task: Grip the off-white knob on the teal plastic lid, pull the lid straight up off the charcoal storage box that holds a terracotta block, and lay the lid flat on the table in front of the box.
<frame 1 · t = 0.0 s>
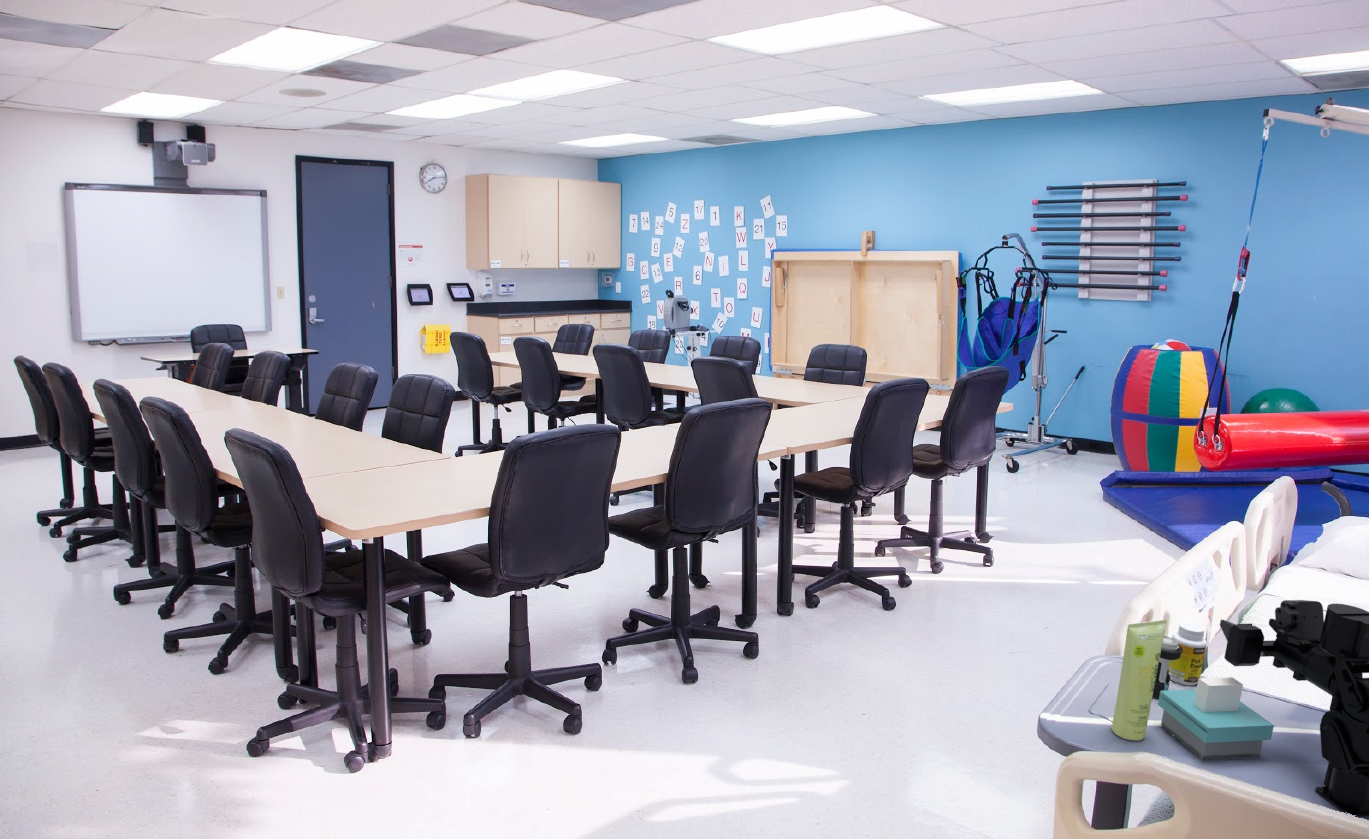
hand: (1245, 621, 163), 17 cm above the table, tool horizontal, fingers open, 9 cm apart
supplement bottle: (1181, 679, 178), on the table
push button: (1156, 692, 173), on the table
storage box: (1208, 741, 157), on the table
tube: (1126, 734, 158), on the table
lid: (1212, 721, 156), point 3 cm above the table, touching storage box
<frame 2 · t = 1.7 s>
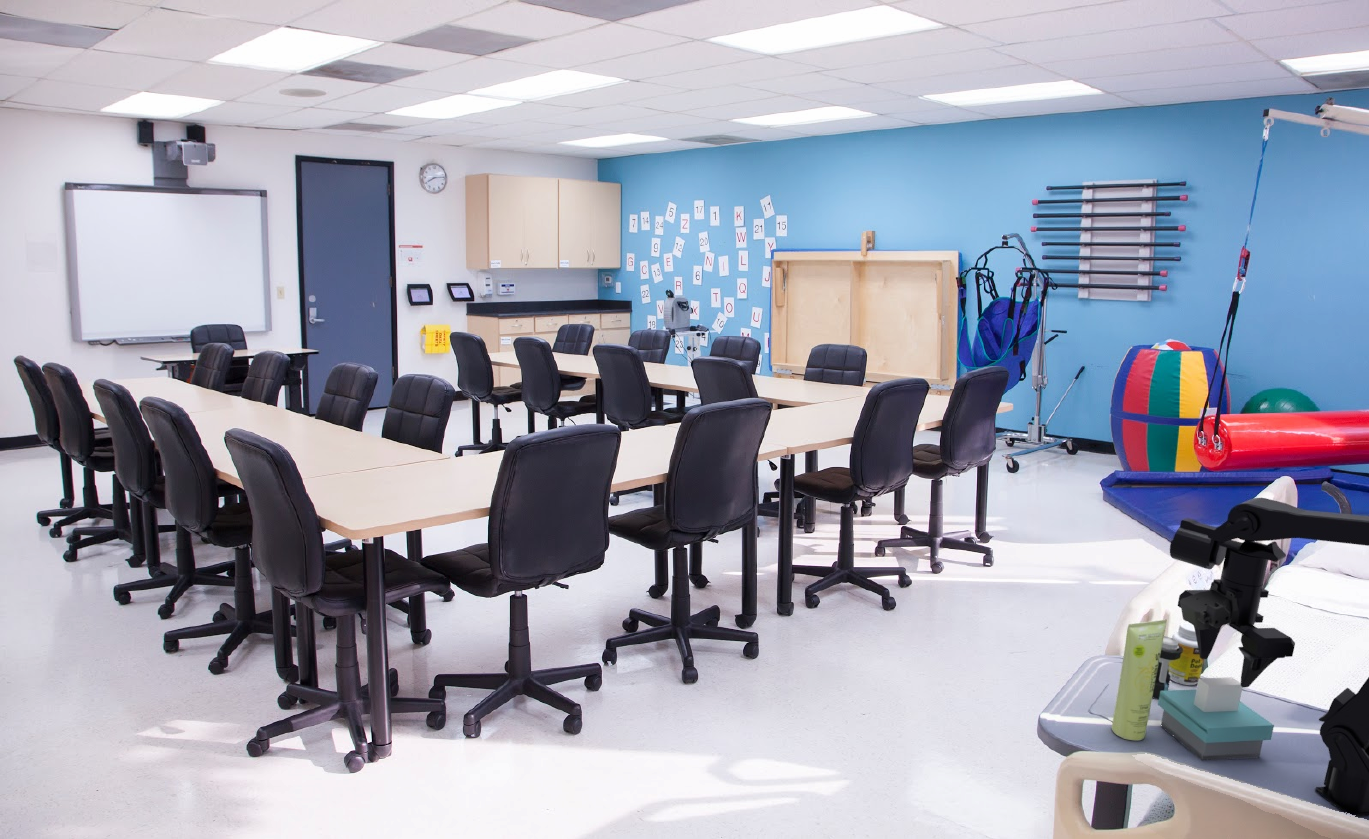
hand: (1223, 672, 154), 12 cm above the table, tool pointing down, fingers open, 9 cm apart
nothing on the table moved.
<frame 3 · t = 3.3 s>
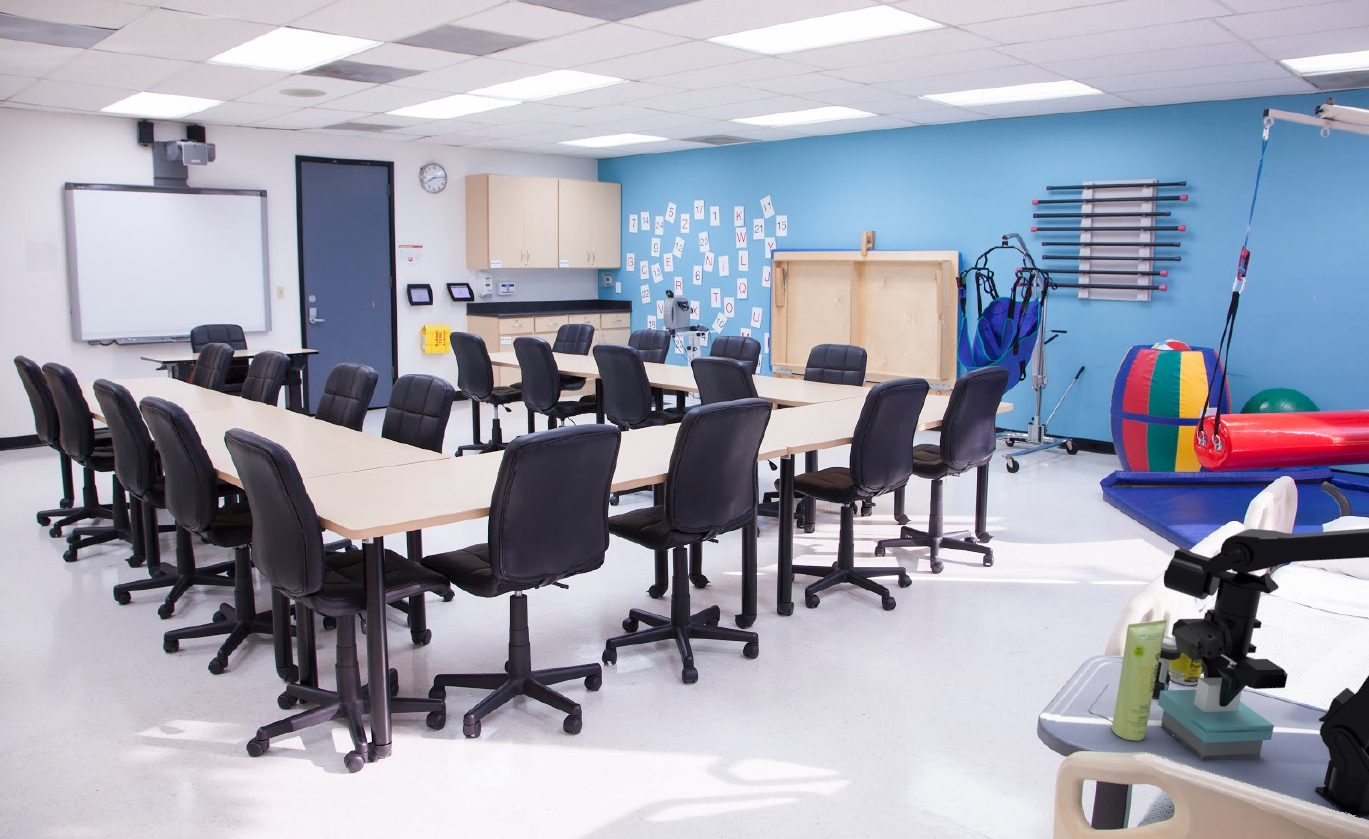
hand: (1216, 701, 155), 7 cm above the table, tool pointing down, fingers closed on lid, 2 cm apart
lid: (1212, 721, 156), point 3 cm above the table, touching gripper, storage box
everything else where it was.
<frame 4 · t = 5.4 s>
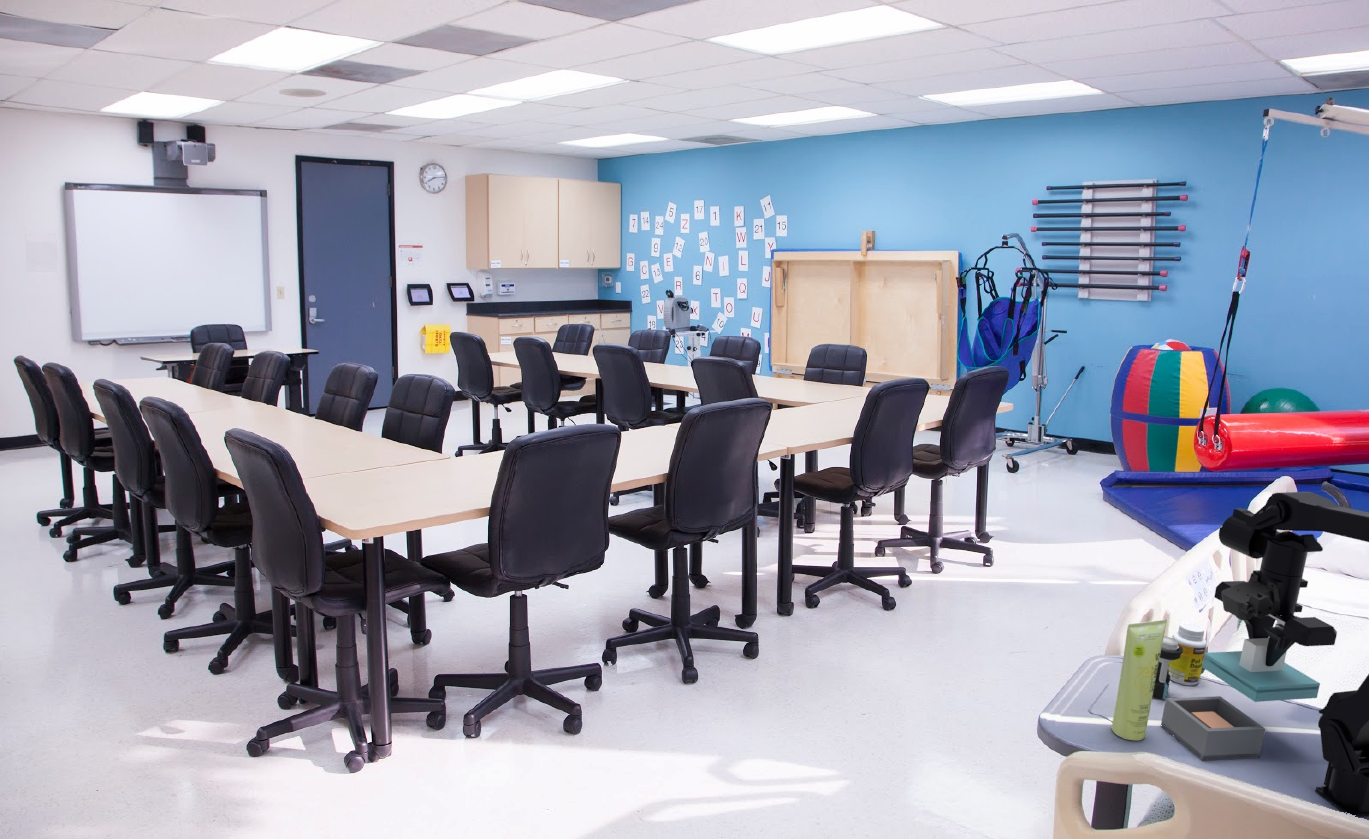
hand: (1262, 661, 157), 13 cm above the table, tool pointing down, fingers closed on lid, 2 cm apart
lid: (1257, 681, 157), point 9 cm above the table, touching gripper
everything else where it was.
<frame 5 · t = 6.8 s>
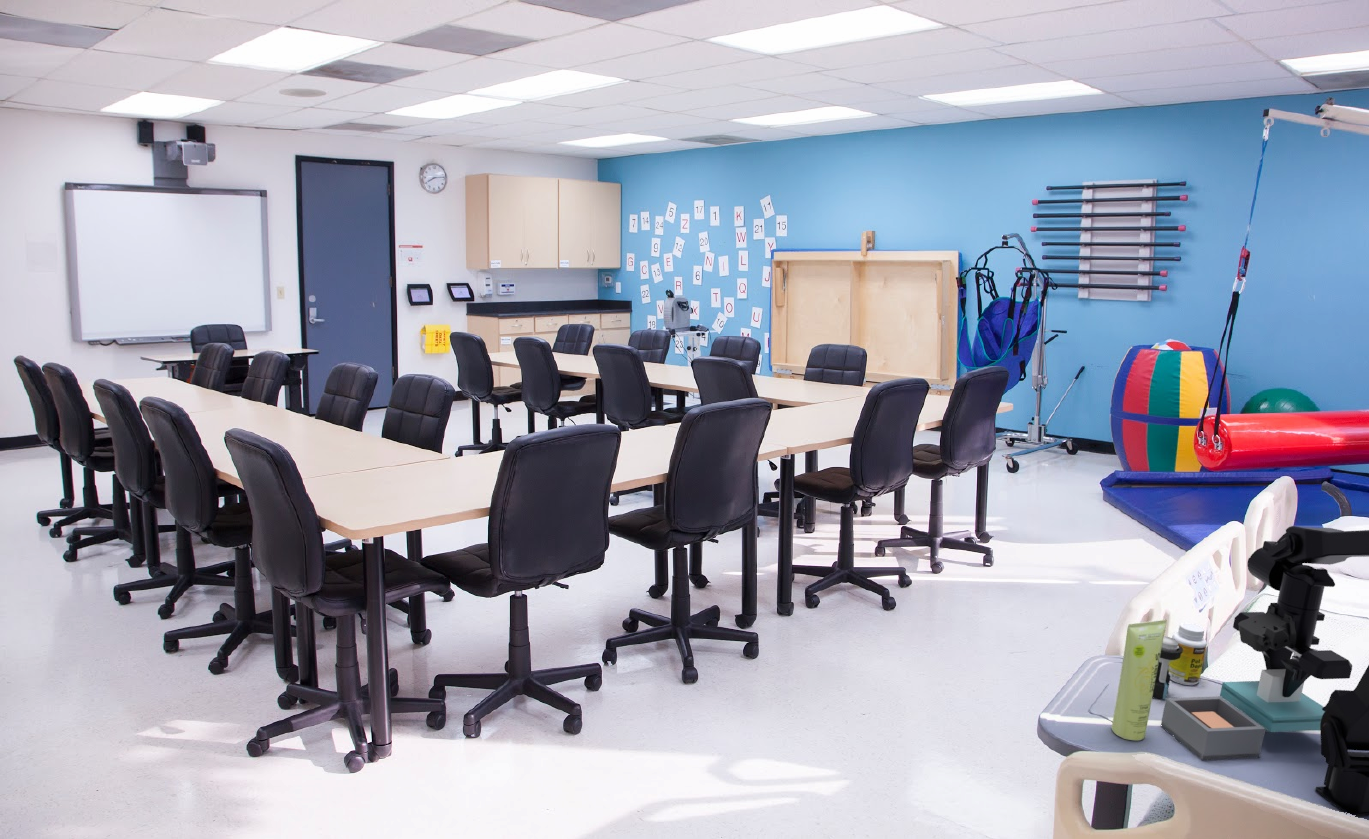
hand: (1279, 692, 159), 7 cm above the table, tool pointing down, fingers closed on lid, 2 cm apart
lid: (1275, 712, 160), point 4 cm above the table, touching gripper
everything else where it was.
when the fingers open (5 cm above the table, at t = 7.8 s): lid drops 1 cm, on the table.
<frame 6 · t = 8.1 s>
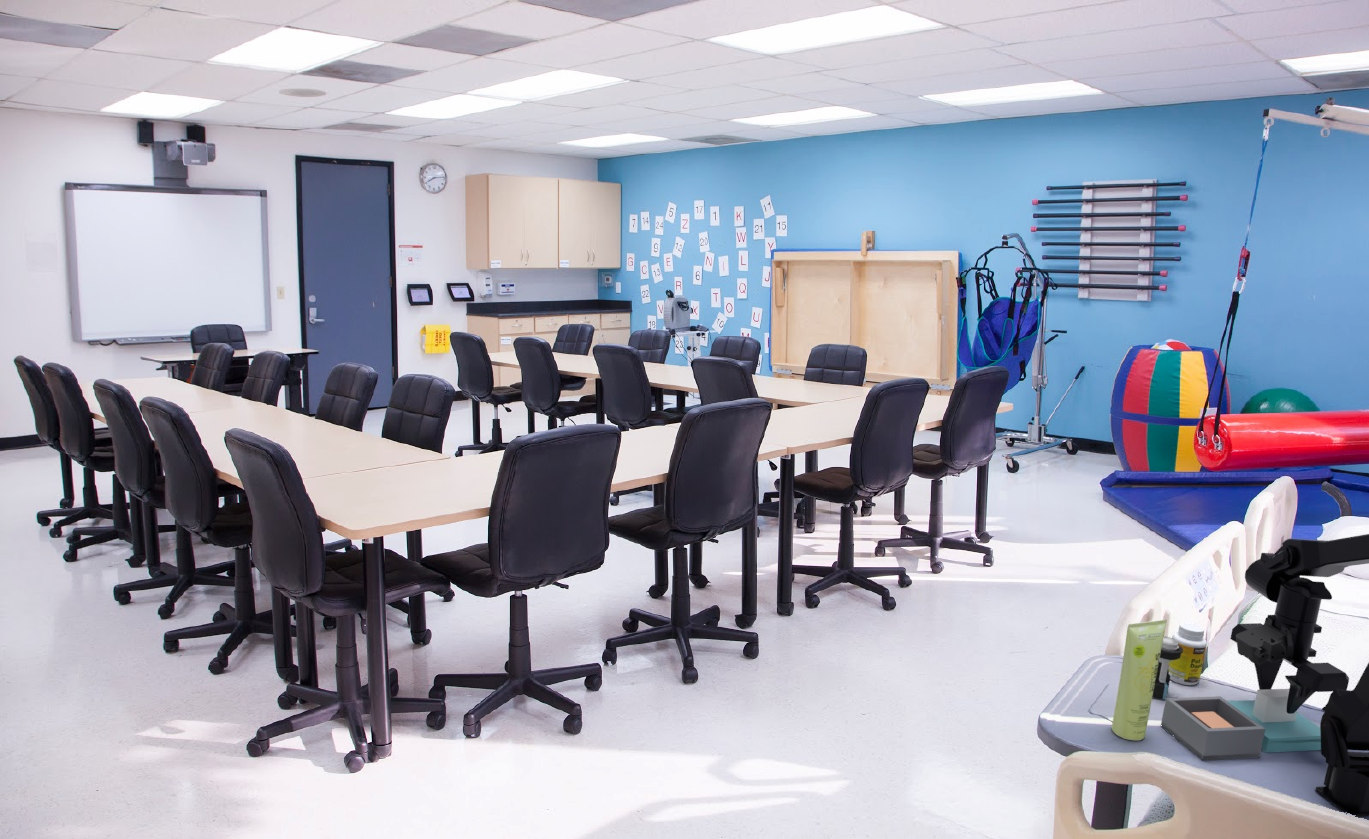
hand: (1276, 704, 160), 5 cm above the table, tool pointing down, fingers open, 5 cm apart
lid: (1270, 731, 161), on the table
everything else where it was.
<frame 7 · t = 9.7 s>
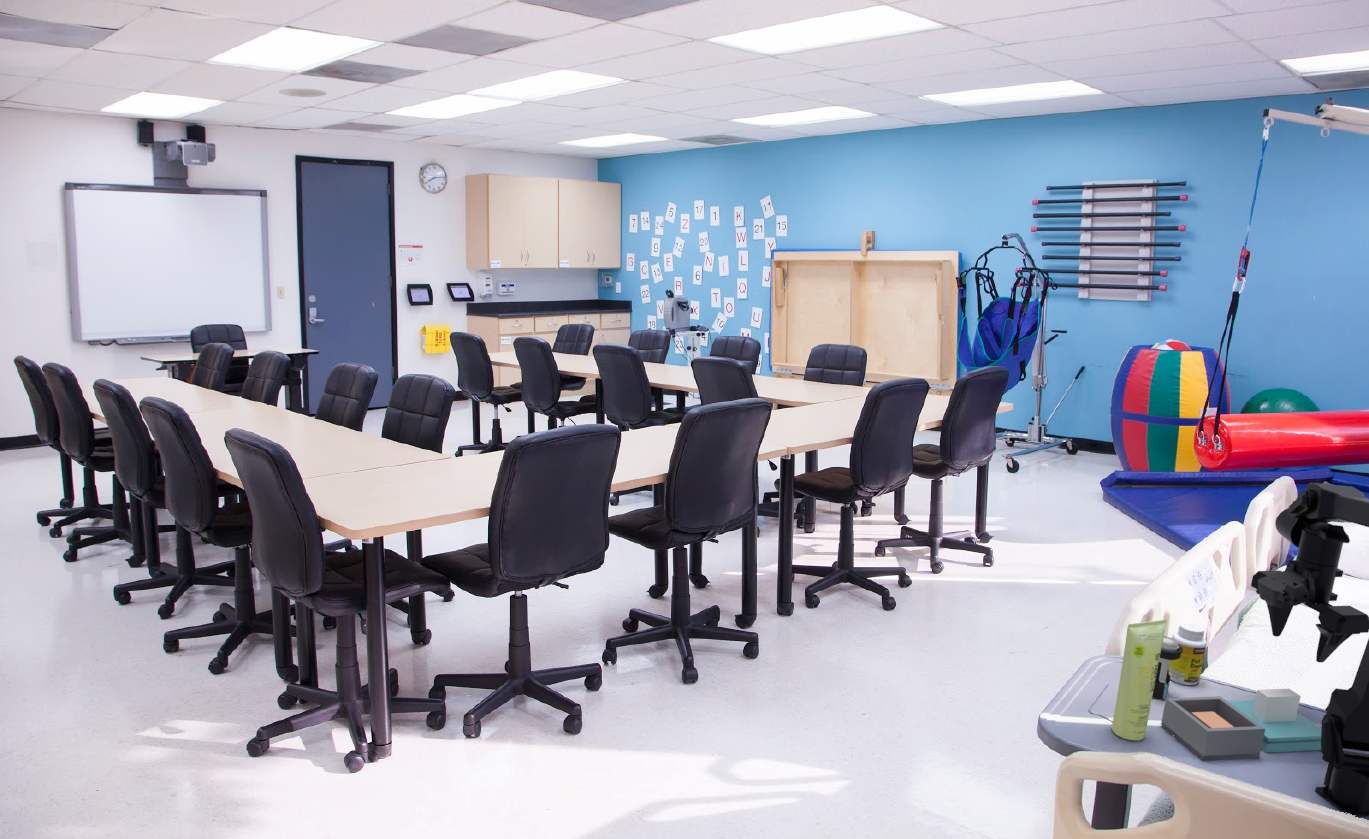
hand: (1297, 648, 162), 13 cm above the table, tool pointing down, fingers open, 9 cm apart
nothing on the table moved.
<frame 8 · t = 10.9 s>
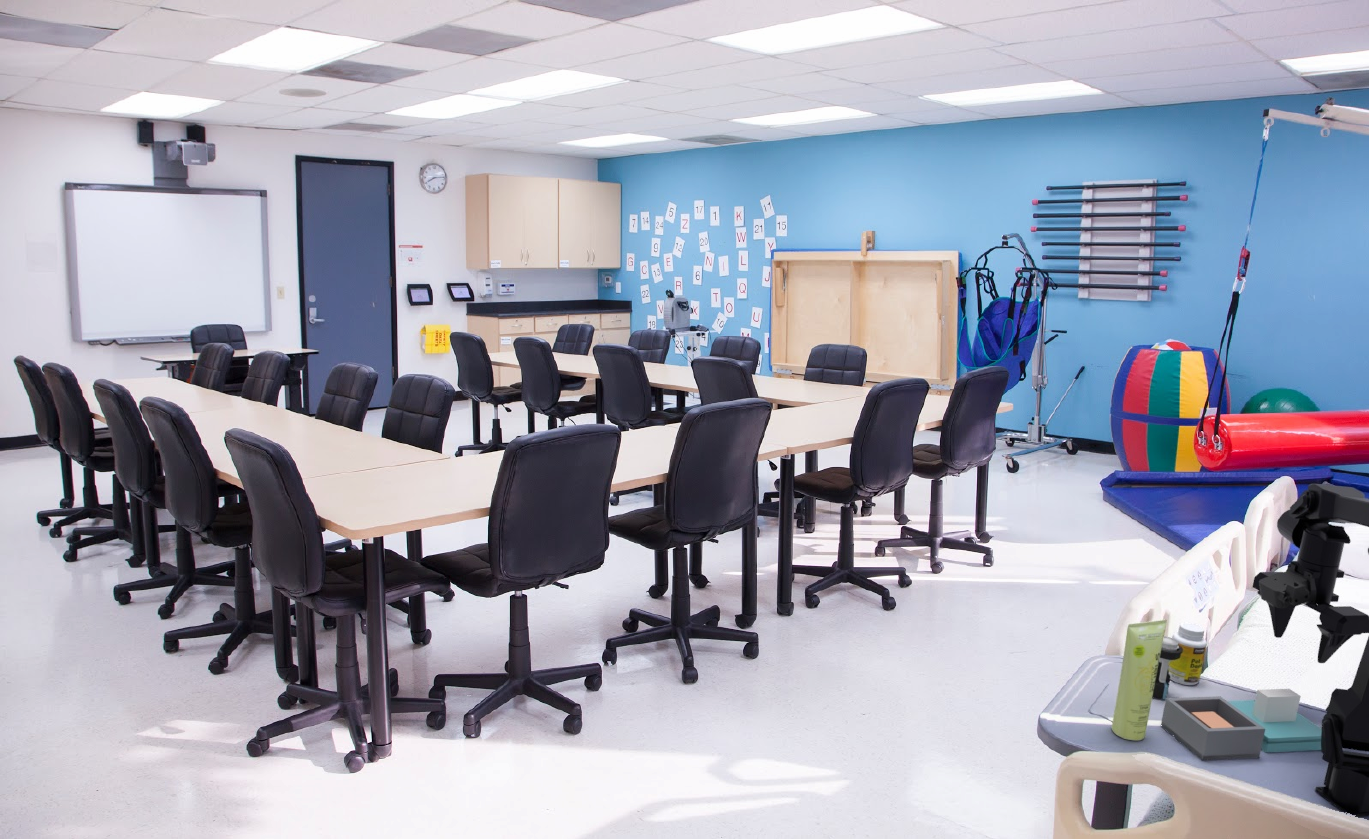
hand: (1298, 649, 162), 13 cm above the table, tool pointing down, fingers open, 9 cm apart
nothing on the table moved.
at the end: lid inside the target area (0.0 cm from its centre), on the table; lid tilted 0°; lid touching table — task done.
